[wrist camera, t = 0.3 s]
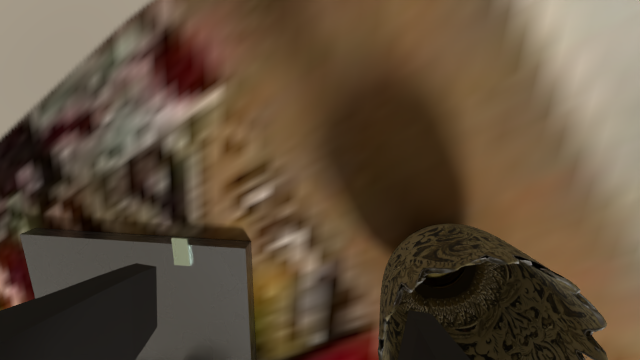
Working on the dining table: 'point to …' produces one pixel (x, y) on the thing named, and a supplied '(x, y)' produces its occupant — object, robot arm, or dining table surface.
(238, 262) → the lock base
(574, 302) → the cup
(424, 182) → the dining table surface
